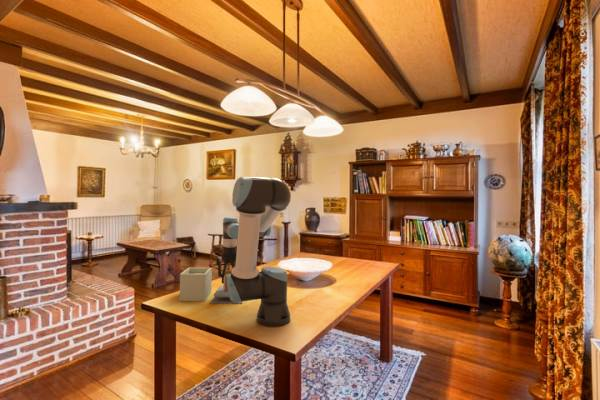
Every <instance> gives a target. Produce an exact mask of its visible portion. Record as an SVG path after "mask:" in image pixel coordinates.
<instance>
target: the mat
mask: <svg viewBox="0 0 600 400" xmlns="http://www.w3.org/2000/svg"><path fill="white" fill-rule="evenodd" d="M243 302H244V301H242V302H232V301H231V300H230V297H218V296H213V298H212V299H211V301H210V303H209V304H210V305H215V304H216V305H242V304H243Z"/></svg>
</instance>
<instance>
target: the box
mask: <svg viewBox="0 0 600 400" xmlns="http://www.w3.org/2000/svg"><path fill="white" fill-rule="evenodd" d="M212 271H213V268H212V267H187V268H186V269H185V270H184V271H181V273H180V274H179V302H206V300H207V299H208V298H210V297H209V296H210V295H211V294H212V283H213V282H212V280H213V277H212V276H213V275H212V274H213V272H212ZM195 273H202V274H195Z"/></svg>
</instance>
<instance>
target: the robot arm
mask: <svg viewBox="0 0 600 400" xmlns="http://www.w3.org/2000/svg"><path fill="white" fill-rule="evenodd" d="M231 195H232V196H231V197H232V200H231V202H232V206H234V207H235V211H237V213H238V214H239V217H236V216H225V217H223V219H222V222H223V223H222V255H221V256H218V257H217V258H216V261H217V275H218V277H221V284H223V286H224V290H225V275H226V274H227V273H226V272H227V267H228V264H230V265H231V273H228V274H229V275H227V288H228V293H229V297H230V300H231V301H232V302H242V301H243V302H247V301H255V300H256V301H257V300H260V303H259V307H258V310H257V314H256V322H257V323H258V324H259V325H262V326H264V327H269V328H272V327H273V328H274V327H275V328H276V327H281V326H285V325H287V324H288V323H289V322H290V321H291V312H290V309H289V306H288V302H287V301H288V281H289V280H288V272H287V271H286V270H285V269H283V268H280V267H275V266H263V267H261V269H260V270H261V271H260V270H259V268H258V267H257V262H258V249H259V241H260V240H259V239H260V238H263V237H269V236H270V235H271V231H272V224H273V223H274V222H275V220H276V219H277V217H278V215H280V214H281V212H283V211H285V210H286V209H287V207H288V206H289V204H290V203H291V199H292V198H291V196H292V195H291V190H290V187H288V185H287V184H286V183H285V182H284V181H283V180H281V179H279V178H276V177H258V176H240V177H239V178H237V179H236V181H235V183H234V185H233V189H232V194H231ZM238 218H239V219H238ZM222 261H223V262H224V264H223V265H224V266H223V268H222ZM243 302H242V303H243Z"/></svg>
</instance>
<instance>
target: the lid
mask: <svg viewBox="0 0 600 400" xmlns="http://www.w3.org/2000/svg"><path fill="white" fill-rule="evenodd" d="M229 274H230V273H225V290H224V285H219V287H217V289H216V290H215V292H214V293H213V297H215V296H218V297H229V293H228V288H227V275H229Z"/></svg>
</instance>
